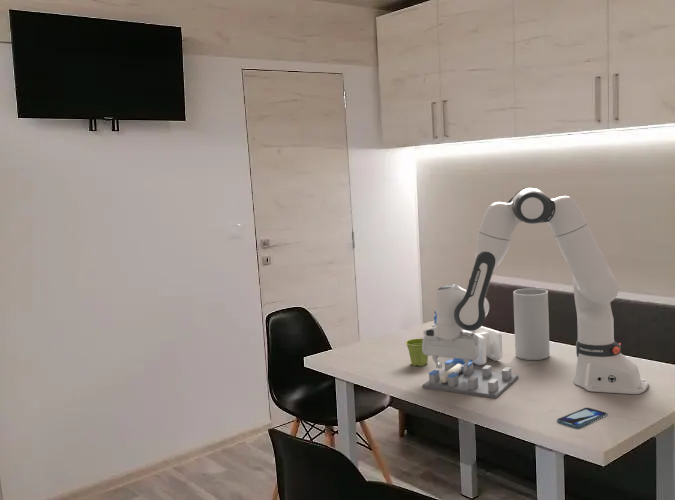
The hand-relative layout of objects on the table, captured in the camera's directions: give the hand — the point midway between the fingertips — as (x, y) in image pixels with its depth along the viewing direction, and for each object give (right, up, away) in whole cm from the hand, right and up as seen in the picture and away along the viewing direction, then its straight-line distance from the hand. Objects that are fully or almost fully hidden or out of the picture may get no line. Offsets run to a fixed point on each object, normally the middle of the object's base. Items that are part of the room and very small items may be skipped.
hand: (451, 369), depth 232 cm
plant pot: (-9, -2, +22) cm, 23 cm away
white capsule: (0, -1, 0) cm, 1 cm away
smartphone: (+31, -8, -40) cm, 51 cm away
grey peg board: (+6, -4, -3) cm, 8 cm away
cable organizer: (+15, -1, +21) cm, 25 cm away
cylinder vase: (+35, +1, +22) cm, 41 cm away
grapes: (+6, +4, +62) cm, 62 cm away
